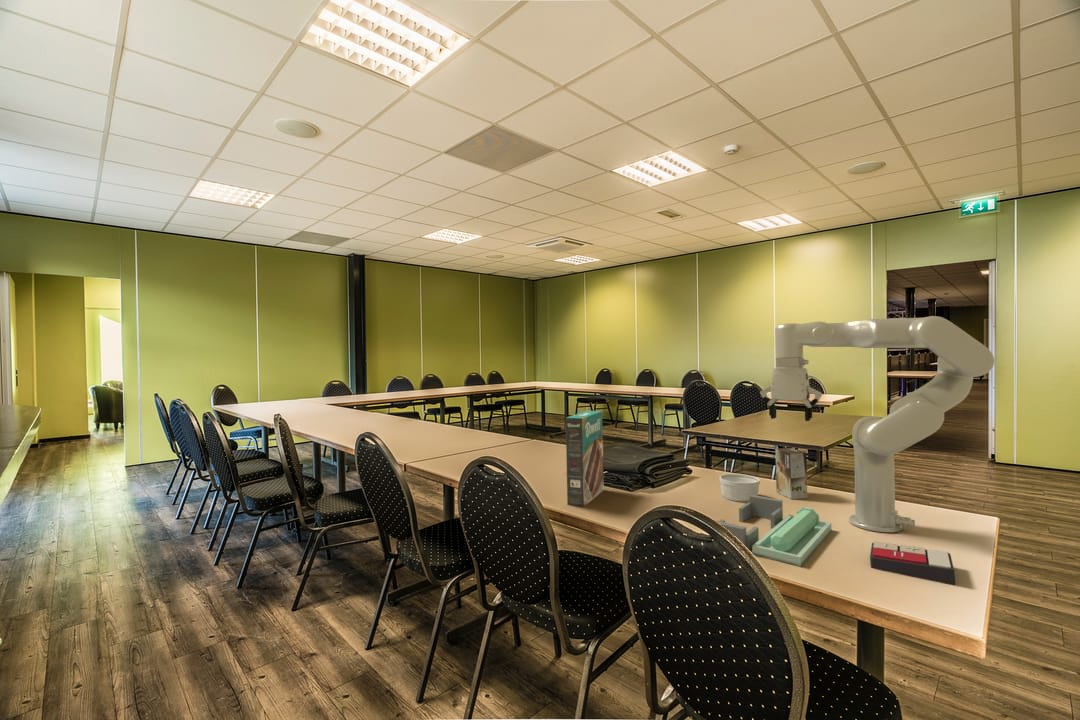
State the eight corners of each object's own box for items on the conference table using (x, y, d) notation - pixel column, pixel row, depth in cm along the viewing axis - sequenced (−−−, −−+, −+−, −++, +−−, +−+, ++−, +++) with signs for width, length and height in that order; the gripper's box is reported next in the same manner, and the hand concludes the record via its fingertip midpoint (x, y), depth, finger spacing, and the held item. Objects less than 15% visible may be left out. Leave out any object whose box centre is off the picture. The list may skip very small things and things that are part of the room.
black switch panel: (871, 538, 120) (949, 549, 111) (873, 556, 120) (951, 568, 111) (869, 553, 111) (954, 566, 102) (870, 572, 111) (955, 586, 102)
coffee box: (808, 498, 165) (807, 452, 165) (791, 499, 164) (790, 453, 164) (791, 491, 174) (790, 447, 174) (775, 492, 173) (774, 448, 173)
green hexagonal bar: (784, 530, 117) (814, 505, 135) (761, 534, 121) (793, 509, 139) (795, 555, 116) (823, 526, 134) (771, 558, 120) (802, 529, 138)
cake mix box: (583, 506, 161) (582, 418, 161) (567, 504, 164) (565, 417, 163) (603, 489, 181) (602, 411, 181) (588, 488, 183) (587, 410, 183)
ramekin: (765, 496, 169) (764, 477, 169) (753, 505, 159) (752, 485, 159) (727, 490, 177) (726, 471, 177) (713, 498, 167) (713, 479, 167)
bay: (784, 520, 144) (784, 500, 144) (745, 553, 121) (745, 529, 121) (750, 513, 151) (750, 494, 151) (707, 543, 128) (707, 521, 127)
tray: (831, 530, 135) (831, 522, 135) (800, 566, 112) (800, 557, 112) (789, 521, 143) (789, 514, 143) (752, 554, 120) (752, 545, 120)
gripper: (824, 363, 143) (825, 420, 143) (763, 363, 155) (764, 416, 155) (818, 363, 137) (819, 423, 137) (755, 364, 149) (756, 418, 149)
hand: (790, 419), depth 146 cm, fingers open, 9 cm apart
